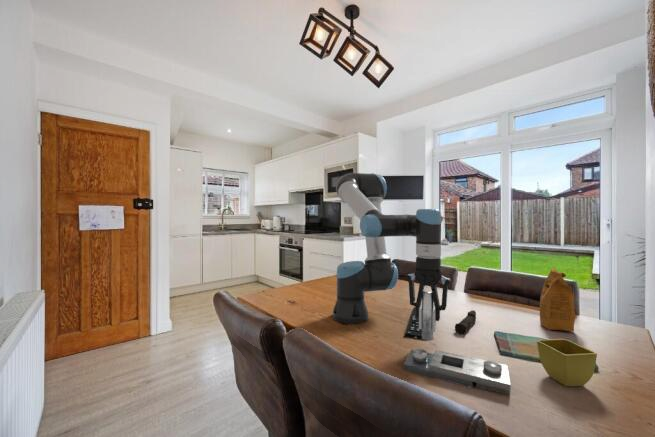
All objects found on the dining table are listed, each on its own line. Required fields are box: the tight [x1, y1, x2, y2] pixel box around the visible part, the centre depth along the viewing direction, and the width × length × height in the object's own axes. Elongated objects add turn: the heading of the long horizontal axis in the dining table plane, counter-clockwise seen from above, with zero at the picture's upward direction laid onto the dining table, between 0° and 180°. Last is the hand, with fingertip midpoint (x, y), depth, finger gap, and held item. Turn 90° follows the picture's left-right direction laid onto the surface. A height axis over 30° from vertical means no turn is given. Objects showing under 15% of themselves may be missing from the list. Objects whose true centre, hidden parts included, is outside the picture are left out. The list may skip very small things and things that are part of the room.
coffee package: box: [539, 267, 576, 332], centre depth 107 cm, size 10×12×22 cm
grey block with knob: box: [430, 349, 511, 396], centre depth 74 cm, size 18×10×4 cm, turn 61°
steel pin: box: [421, 290, 435, 342], centre depth 90 cm, size 4×4×15 cm
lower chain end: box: [403, 348, 473, 388], centre depth 78 cm, size 17×10×4 cm, turn 61°
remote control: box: [404, 306, 423, 340], centre depth 112 cm, size 8×32×2 cm, turn 157°
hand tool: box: [454, 310, 477, 336], centre depth 108 cm, size 19×4×5 cm, turn 135°
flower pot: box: [537, 338, 598, 387], centre depth 72 cm, size 9×9×9 cm
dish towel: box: [493, 330, 600, 372], centre depth 88 cm, size 17×23×2 cm
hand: (427, 328), depth 90 cm, fingers closed on steel pin, 3 cm apart
